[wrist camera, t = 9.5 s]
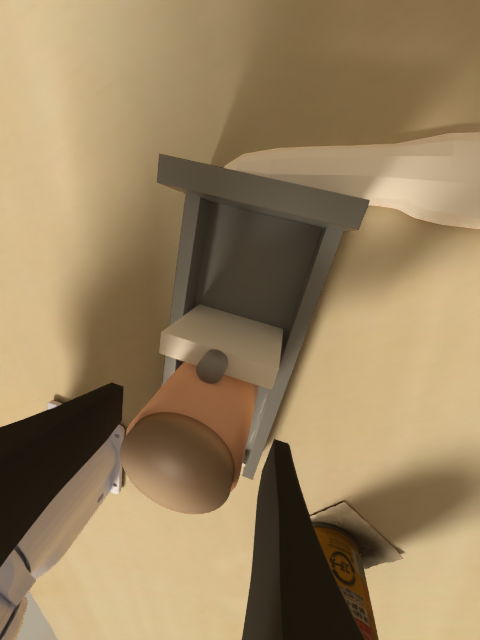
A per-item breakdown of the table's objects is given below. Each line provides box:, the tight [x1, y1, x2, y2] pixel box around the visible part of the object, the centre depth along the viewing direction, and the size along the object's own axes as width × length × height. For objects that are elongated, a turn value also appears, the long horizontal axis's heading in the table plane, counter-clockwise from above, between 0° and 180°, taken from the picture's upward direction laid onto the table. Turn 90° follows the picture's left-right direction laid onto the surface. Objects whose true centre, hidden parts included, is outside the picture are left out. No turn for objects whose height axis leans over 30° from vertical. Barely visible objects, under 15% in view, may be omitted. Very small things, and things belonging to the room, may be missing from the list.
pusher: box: [159, 304, 283, 390], centre depth 13 cm, size 1×6×6 cm, turn 77°
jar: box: [120, 362, 260, 514], centre depth 13 cm, size 5×5×9 cm
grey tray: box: [157, 154, 370, 479], centre depth 15 cm, size 19×8×5 cm, turn 167°
